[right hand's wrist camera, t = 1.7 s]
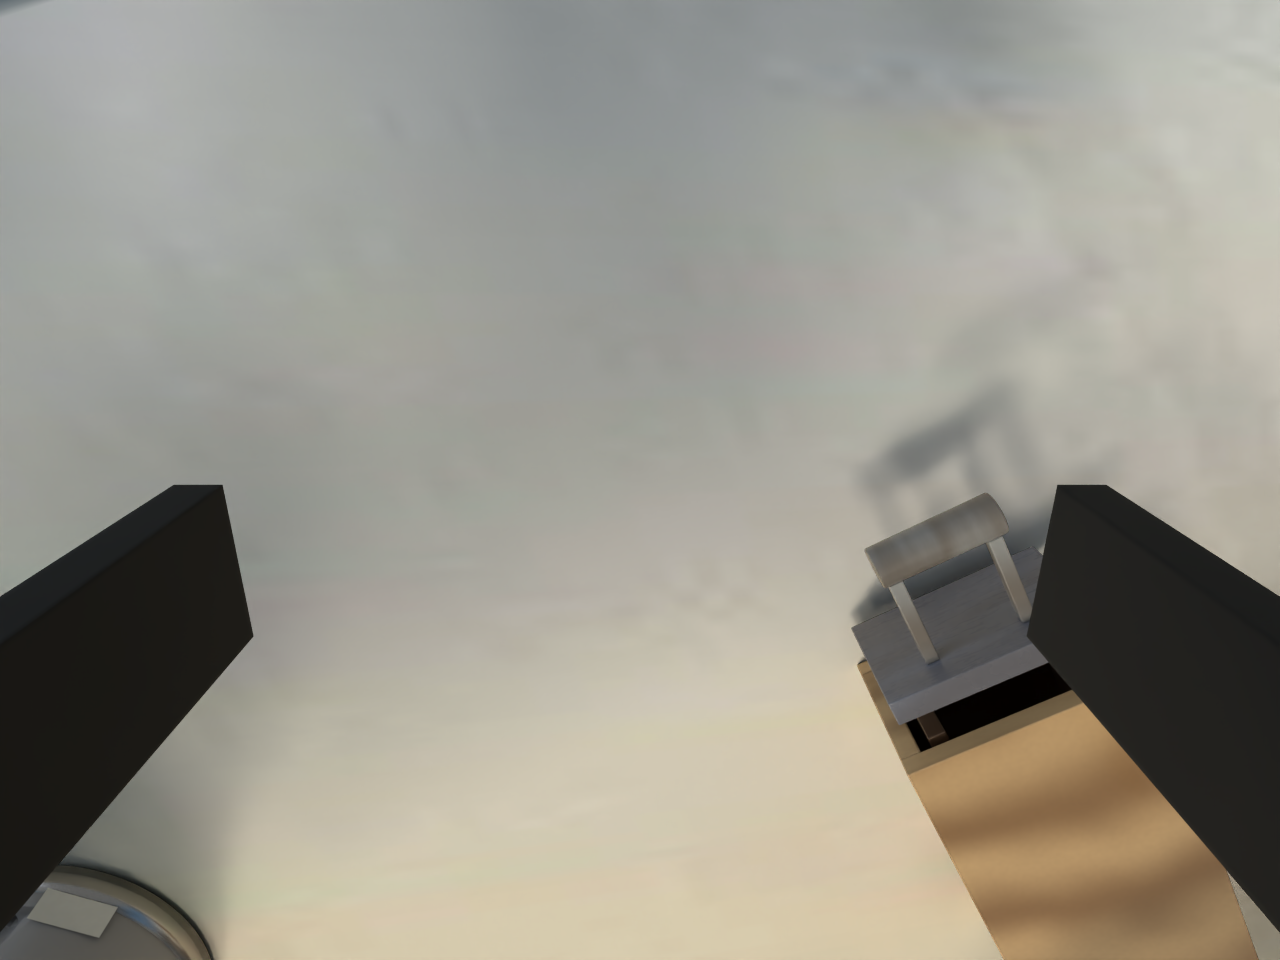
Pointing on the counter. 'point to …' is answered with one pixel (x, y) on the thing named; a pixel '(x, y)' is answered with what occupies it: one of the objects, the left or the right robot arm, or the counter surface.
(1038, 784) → the wooden block
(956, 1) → the counter surface
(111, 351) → the counter surface
